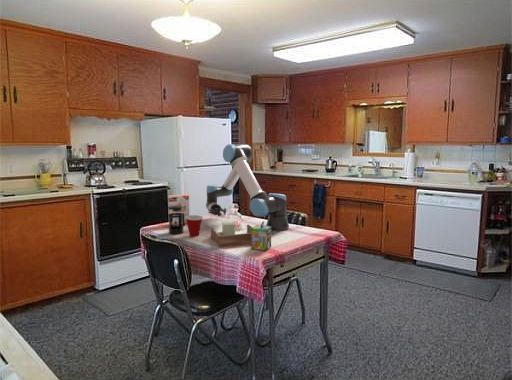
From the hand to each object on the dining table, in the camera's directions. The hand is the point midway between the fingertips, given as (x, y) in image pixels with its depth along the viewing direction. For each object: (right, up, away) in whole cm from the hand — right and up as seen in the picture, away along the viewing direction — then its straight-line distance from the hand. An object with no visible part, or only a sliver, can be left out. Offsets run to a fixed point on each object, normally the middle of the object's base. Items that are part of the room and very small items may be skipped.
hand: (223, 215), depth 237 cm
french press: (-30, -11, -3) cm, 32 cm away
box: (+9, -13, -22) cm, 27 cm away
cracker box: (-32, -8, +19) cm, 38 cm away
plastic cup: (-17, -12, -11) cm, 23 cm away
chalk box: (+24, -15, -38) cm, 48 cm away
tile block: (+4, -11, -9) cm, 15 cm away
